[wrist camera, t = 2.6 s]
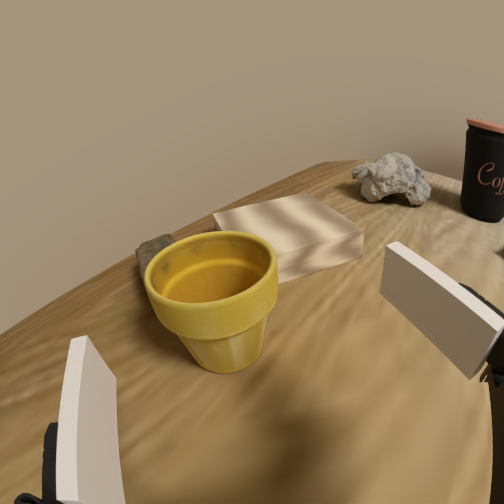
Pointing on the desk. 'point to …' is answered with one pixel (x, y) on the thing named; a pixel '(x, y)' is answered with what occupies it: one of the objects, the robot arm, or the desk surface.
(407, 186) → the mineral
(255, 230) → the birch block
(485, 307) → the robot arm
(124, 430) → the desk surface
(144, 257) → the stone block
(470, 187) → the coffee jar
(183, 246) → the plant pot
